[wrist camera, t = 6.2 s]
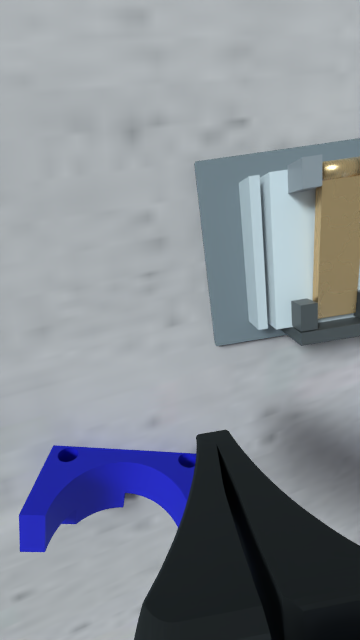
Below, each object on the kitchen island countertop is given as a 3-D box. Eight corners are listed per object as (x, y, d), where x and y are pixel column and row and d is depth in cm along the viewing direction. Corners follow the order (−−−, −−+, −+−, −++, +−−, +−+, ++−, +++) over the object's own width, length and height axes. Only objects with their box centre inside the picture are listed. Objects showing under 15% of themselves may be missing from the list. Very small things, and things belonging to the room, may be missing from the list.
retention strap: (358, 157, 15) (372, 153, 14) (347, 308, 18) (357, 313, 17) (314, 164, 15) (325, 160, 14) (310, 314, 18) (319, 320, 17)
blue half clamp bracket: (53, 488, 24) (20, 568, 18) (54, 443, 22) (19, 515, 17) (193, 494, 25) (204, 570, 19) (201, 452, 24) (215, 520, 18)
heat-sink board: (411, 133, 18) (495, 99, 13) (396, 313, 21) (458, 333, 17) (194, 164, 17) (206, 139, 13) (214, 343, 21) (230, 371, 16)
